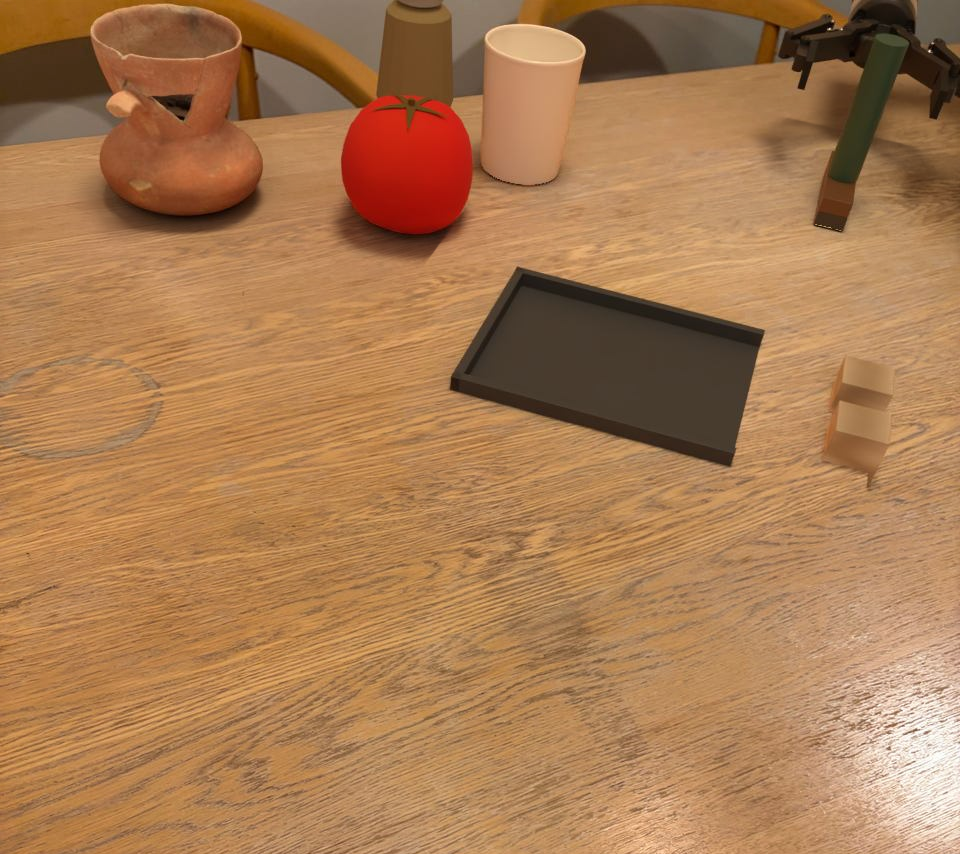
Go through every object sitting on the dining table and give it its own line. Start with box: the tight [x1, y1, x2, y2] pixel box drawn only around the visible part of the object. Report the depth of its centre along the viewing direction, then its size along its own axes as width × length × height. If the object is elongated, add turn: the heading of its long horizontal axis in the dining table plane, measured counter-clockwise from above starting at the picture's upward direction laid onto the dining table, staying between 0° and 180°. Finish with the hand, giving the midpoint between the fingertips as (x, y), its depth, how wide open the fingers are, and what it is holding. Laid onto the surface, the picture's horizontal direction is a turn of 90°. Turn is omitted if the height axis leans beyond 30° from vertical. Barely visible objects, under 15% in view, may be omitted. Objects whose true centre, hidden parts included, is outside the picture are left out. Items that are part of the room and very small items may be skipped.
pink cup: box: [480, 23, 587, 186], centre depth 103 cm, size 10×10×12 cm
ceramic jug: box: [89, 3, 264, 217], centre depth 91 cm, size 18×14×14 cm
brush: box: [813, 34, 909, 232], centre depth 103 cm, size 3×12×16 cm, turn 163°
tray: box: [449, 266, 766, 468], centre depth 83 cm, size 22×18×2 cm
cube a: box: [828, 355, 896, 414], centre depth 82 cm, size 4×4×4 cm
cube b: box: [821, 401, 893, 486], centre depth 78 cm, size 4×4×4 cm
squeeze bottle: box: [376, 0, 454, 108], centre depth 103 cm, size 8×8×18 cm
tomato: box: [340, 91, 474, 235], centre depth 93 cm, size 12×13×11 cm
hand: (871, 90), depth 104 cm, fingers open, 13 cm apart
